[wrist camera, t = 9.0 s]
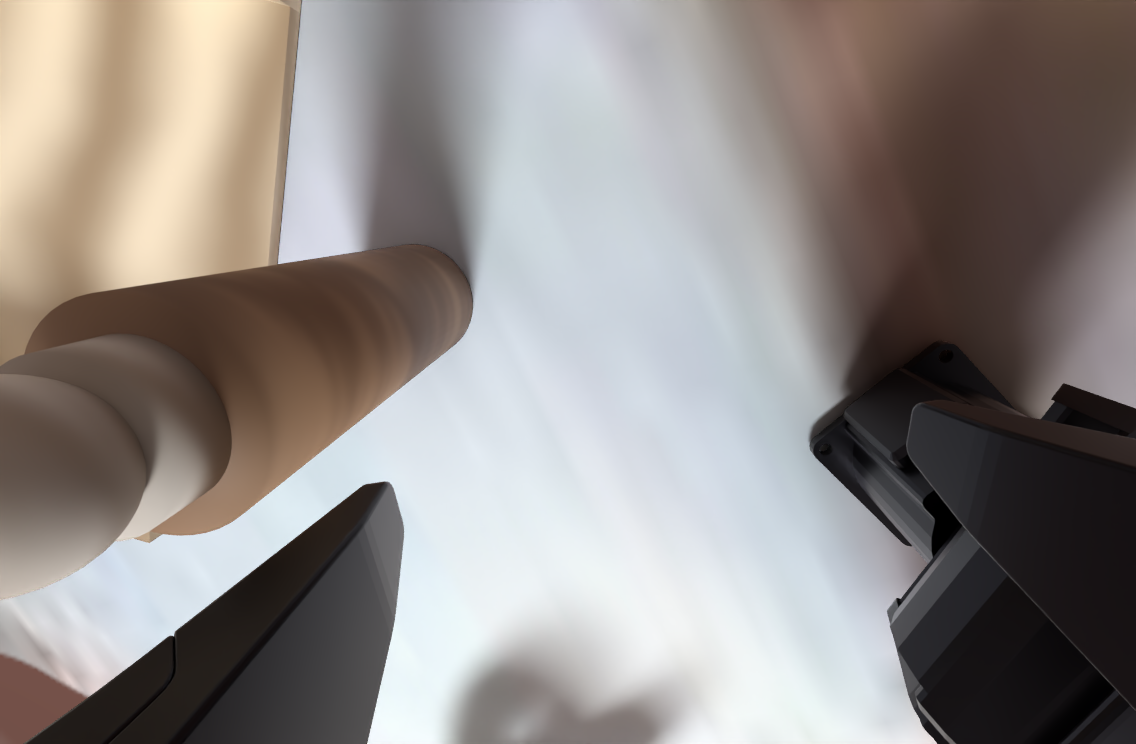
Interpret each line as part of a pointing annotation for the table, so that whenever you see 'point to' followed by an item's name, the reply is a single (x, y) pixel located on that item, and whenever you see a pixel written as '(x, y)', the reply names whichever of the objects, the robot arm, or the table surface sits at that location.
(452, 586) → the table surface
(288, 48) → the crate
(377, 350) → the pepper mill
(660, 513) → the table surface
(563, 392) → the table surface
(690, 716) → the table surface
